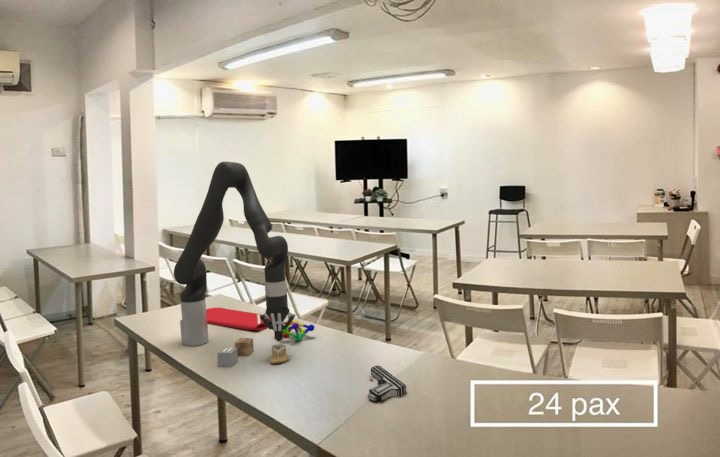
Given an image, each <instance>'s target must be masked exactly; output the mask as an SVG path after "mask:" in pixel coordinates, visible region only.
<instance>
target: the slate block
mask: <svg viewBox="0 0 720 457" xmlns="http://www.w3.org/2000/svg"><path fill="white" fill-rule="evenodd" d="M238 362H239V356H238V354H237V348H235V347H222V349H220V350H219V351H218V352H217V365H218V367H220V368H221V367H225V368H233V367H234V366H235V365H236V364H237V363H238Z"/></svg>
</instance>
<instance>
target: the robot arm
mask: <svg viewBox="0 0 720 457" xmlns="http://www.w3.org/2000/svg"><path fill="white" fill-rule="evenodd" d="M211 175H212V176H211V180H210V183H209V186H208V190H207V193H206V196H205V197H204V200H203V204H202V206H201V209H200V211H199V213H198V216H197V218H196V220H195V222H194V225H193V228H192V230H191V233H190V235H189V237H188V240H187V242H186V245H185V247H184V248H183V251H182V253H181V254H180V256H179V258H178V260H177V261H176V263H175V266H174V267H173V268H174V269H173V278H174V280H175V282H176V283H178V285H179V284H180V285H183V286H185V287H184V289H183V290H182V291H181V293H180V294H179V295H180V296H179V298H180V299H179V300H180V309H181V310H180V311H181V319H180V320H179V325H180V338H181V345H185V346H187V347H197V346H201V345H205V344H207V343H208V342H209V328H208V323H207V313H206V309H207V303H206V293H207V288H208V286H207V285H208V283H207V280H208V278H207V277H208V276H207V268H206V265H205V263H204V261H203V260H202V259H201V258H202V257H203V255H204V253H205V252H206V251H207V249H208V248H209V247H210V246H211V245H212V244H213V243H214V242H215V240H216V239H217V237H218V235H219V233H220V231H221V229H222V227H223V223H224V220H225V219H224V218H225V217H224V210H223V209H224V208H223V203H224V202H223V201H224V198H225V196H226V193H227V191H228V190H229V188H230V189H231V188H232V189H236V191H237V192H238V194H239V195H240V197H241V200H242V204H243V216H244V218H245V221H246V222H247V224H248V226H249V228H250V229H251V231H252V233H253V236H254V242H255V244H256V249H257V252H258V254H259V255H260V256H261V257H262V258H264V259H271V261H270V262H269V263H268V264H266V265H265V267H264V282H265V283H264V284H265V285H264V292H265V293H264V294H265V306H266V308H265V310H264V311H265V312H264V313H262V315H261V316H260V319H261V320H262V321H263V322H264V323H265V325H266V326H267V327H268V328H267V329H269V330H272V331H273V333H274V340H276V342H281V341H282V340H283V339H284V338H285V337H284V336H283V330H285V329H286V328H287V327H288V326H289V325H290V323H291V322H292V321H294V320H295V318H296V314H295V313H292V312H290V308H289V306H288V305H289V303H288V289H287V288H288V287H287V283H286V282H287V281H286V270H285V269H286V265H287V264H286V263H287V258H288V254H289V253H288V252H289V245H288V241H287V240H286V238H285V237H283V236H282V235H275V236H271V237H269V235H268V234H269V233H270V232H271V231H272V229H273V225H272V222H271V220H270V218H268V215H267V214H266V212H265V210H264V208H263V206H262V205H261V202H260V201H259V197H258V195H257V194H256V190H255V188H254V185H253V182H252V179H251V178H250V174H249V171H248V170H247V168H246V166H244V164H243V163H239V162H235V161H233V162H232V161H220V162H219V163H218V164H217V165H216V167H215V168H214V171H213V173H212V174H211ZM268 317H269V318H270V319H271V320H272V322H271V321H270V320H269V318H268ZM286 318H287V319H288V320H287V321H285V320H286ZM284 322H286V324H284Z"/></svg>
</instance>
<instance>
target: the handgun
mask: <svg viewBox="0 0 720 457" xmlns="http://www.w3.org/2000/svg"><path fill="white" fill-rule="evenodd" d="M371 375H372V376H371ZM368 378H370V379H371V380H373V379H375V380H376V379H377V380H376V381H377V385H376V386H375V387H373V388H370V389H369V390H368V392H369V393H368V394H367V399H368V400H370V401H373V402H376V401H377V402H376V403H378V402H381V403H383V402H385V401H386V400H388V399H390V398H392V397H391V396H400V397H402V396H404V395H405V394H406V393H407V385H406V384H405V383H403V382H402V381H401V380H399V379H398V378H397V377H395V376H394V375H393V374H391V373H390V372H389V371H387V370H385V368H383V367H382V366H381V365H374V366H372V367H371V368H370V374H369V375H368ZM404 393H405V394H404ZM403 394H404V395H403ZM401 395H402V396H401ZM389 397H390V398H389ZM387 398H388V399H387ZM385 399H386V400H385ZM384 400H385V401H384ZM382 401H383V402H382Z"/></svg>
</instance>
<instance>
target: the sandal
mask: <svg viewBox="0 0 720 457" xmlns="http://www.w3.org/2000/svg"><path fill="white" fill-rule="evenodd" d="M271 351H272V354H271V356H270V357H269V363H270V364H271V365H272V364H273V365H275V364H282V363H286V362H287V361H288V360H289V354H288V352H287V346H286V344H285V343H275V344H272V346H271Z"/></svg>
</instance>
